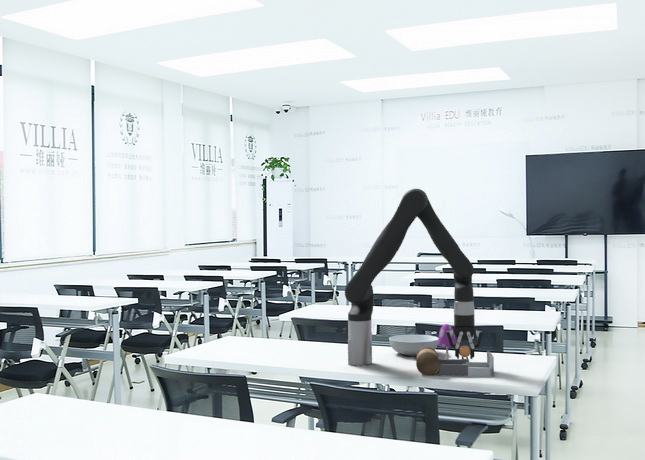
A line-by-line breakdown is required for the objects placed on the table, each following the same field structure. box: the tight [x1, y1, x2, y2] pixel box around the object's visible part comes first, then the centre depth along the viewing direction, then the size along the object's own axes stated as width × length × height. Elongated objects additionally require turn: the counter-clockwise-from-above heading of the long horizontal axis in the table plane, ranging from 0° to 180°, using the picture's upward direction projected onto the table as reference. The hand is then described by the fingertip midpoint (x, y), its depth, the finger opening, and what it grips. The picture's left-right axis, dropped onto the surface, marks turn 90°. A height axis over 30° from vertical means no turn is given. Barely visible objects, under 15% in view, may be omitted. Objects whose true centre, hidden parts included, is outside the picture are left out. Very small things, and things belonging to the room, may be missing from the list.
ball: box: [459, 345, 471, 358], centre depth 239 cm, size 4×4×4 cm
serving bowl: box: [388, 334, 439, 357], centre depth 270 cm, size 21×21×7 cm
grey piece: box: [438, 351, 495, 378], centre depth 232 cm, size 19×10×7 cm, turn 82°
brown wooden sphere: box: [415, 347, 440, 377], centre depth 234 cm, size 10×8×8 cm
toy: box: [438, 323, 456, 359], centre depth 252 cm, size 7×7×15 cm
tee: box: [461, 356, 470, 362], centre depth 239 cm, size 3×3×4 cm
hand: (464, 358), depth 239 cm, fingers closed on ball, 4 cm apart
